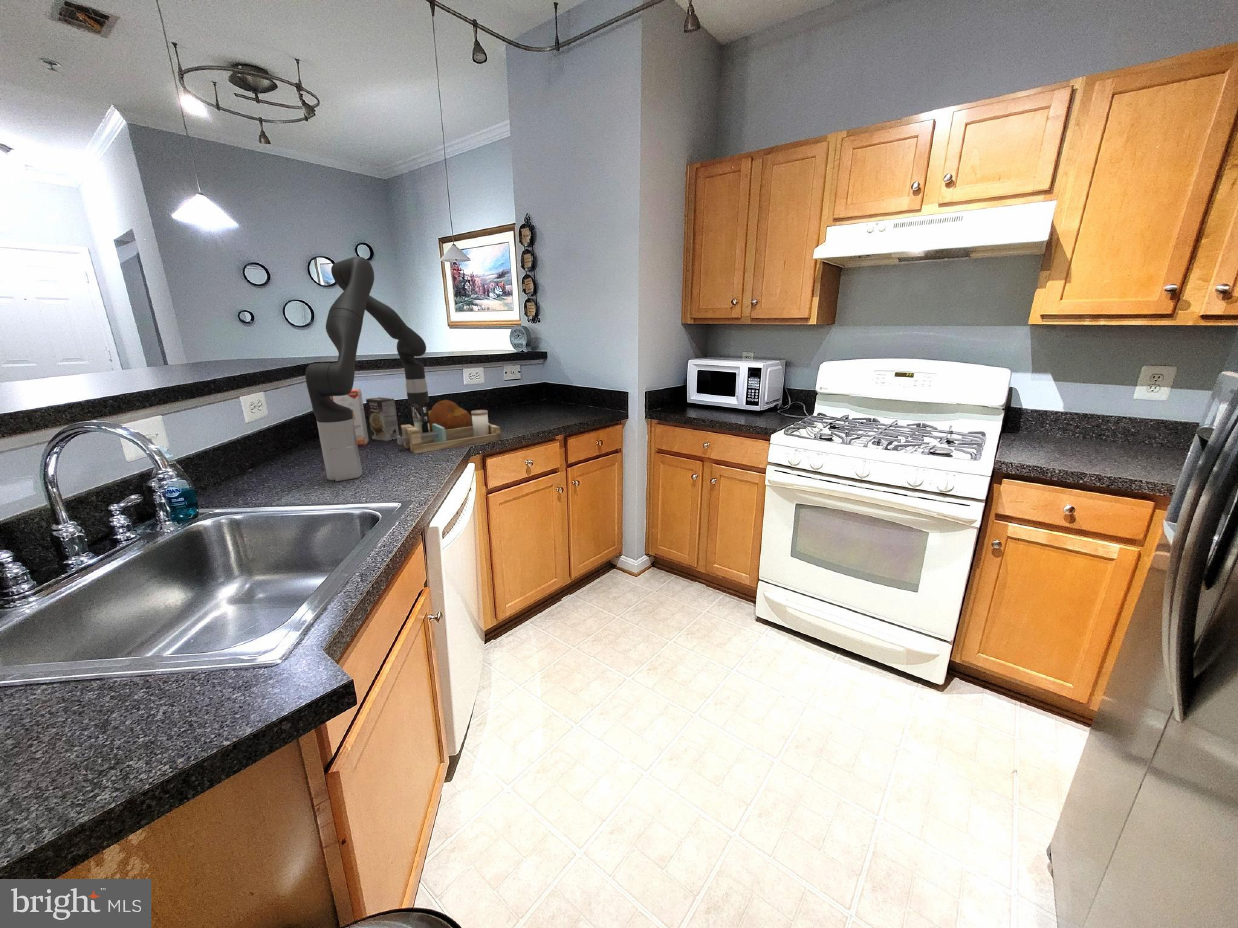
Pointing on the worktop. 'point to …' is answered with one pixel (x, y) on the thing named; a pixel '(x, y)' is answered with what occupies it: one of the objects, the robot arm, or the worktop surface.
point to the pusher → (428, 435)
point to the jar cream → (480, 422)
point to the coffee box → (382, 418)
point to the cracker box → (355, 413)
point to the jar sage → (419, 424)
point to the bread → (449, 416)
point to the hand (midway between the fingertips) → (422, 431)
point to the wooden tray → (416, 441)
